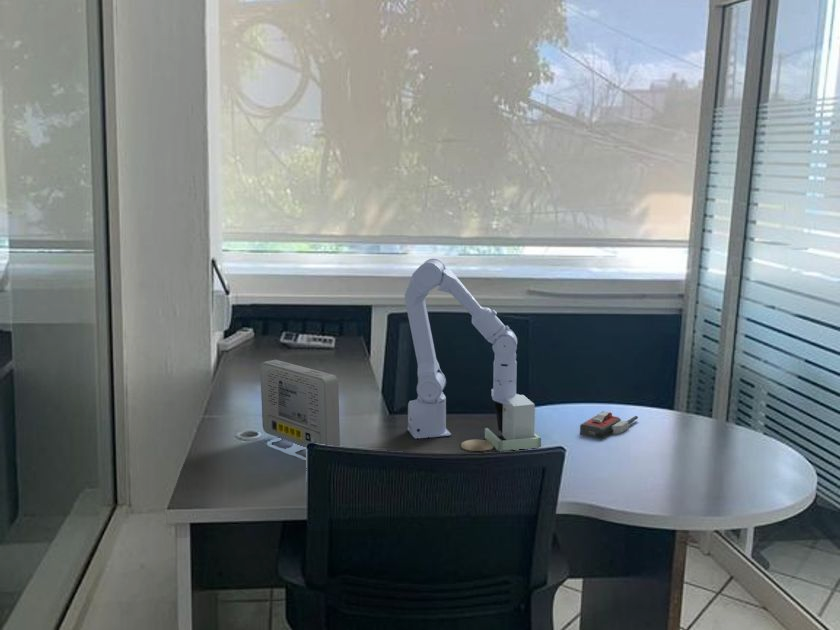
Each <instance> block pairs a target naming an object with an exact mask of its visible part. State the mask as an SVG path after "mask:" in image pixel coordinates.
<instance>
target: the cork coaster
mask: <svg viewBox="0 0 840 630" xmlns="http://www.w3.org/2000/svg"><path fill="white" fill-rule="evenodd" d="M460 447H461V448H462V449H463V450H464V449H465V451H467V450H468V452H473V451H482V450H489V451H491V450H493V449H495V447H494V445H493V444H492V443H491V442H490V441H487V440H486V439H468V440H465V441H462V442H461V445H460Z"/></svg>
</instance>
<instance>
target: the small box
mask: <svg viewBox="0 0 840 630" xmlns="http://www.w3.org/2000/svg"><path fill="white" fill-rule="evenodd" d="M505 401H506V402H508V403H510V404H511V405H510V406H507V405H505V404H503V424H502V433H501V435H502V436H503V438H504V439H505V440H513V439H524V438H534V433H535V418H536V416H535V414H536V405H535V403H534V402H533V401H531V399H528V397H526V396H525V395H524V394H519V395H516V396H514V397H510V398H505Z"/></svg>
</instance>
